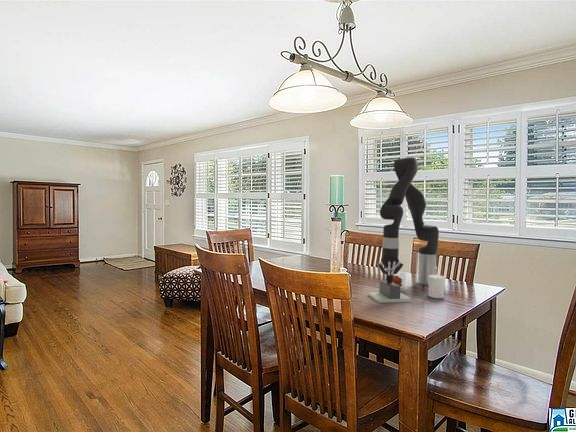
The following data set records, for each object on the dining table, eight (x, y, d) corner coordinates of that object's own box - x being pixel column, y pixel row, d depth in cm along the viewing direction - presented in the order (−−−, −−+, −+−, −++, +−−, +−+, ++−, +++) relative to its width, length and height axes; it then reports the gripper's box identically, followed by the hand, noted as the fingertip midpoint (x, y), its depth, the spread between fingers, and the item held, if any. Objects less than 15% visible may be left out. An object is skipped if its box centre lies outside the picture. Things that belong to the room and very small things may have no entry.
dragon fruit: (398, 290, 195) (390, 298, 186) (385, 279, 198) (377, 287, 189) (407, 279, 191) (400, 287, 182) (394, 268, 194) (386, 276, 185)
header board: (399, 294, 181) (399, 285, 181) (410, 301, 169) (411, 292, 169) (368, 295, 179) (368, 286, 178) (378, 302, 167) (378, 293, 167)
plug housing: (389, 292, 180) (389, 279, 180) (400, 298, 168) (400, 285, 168) (379, 292, 179) (379, 280, 179) (389, 299, 168) (390, 286, 167)
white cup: (444, 295, 181) (445, 275, 181) (445, 299, 174) (446, 278, 173) (427, 293, 184) (428, 274, 183) (427, 297, 176) (428, 277, 176)
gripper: (400, 245, 177) (398, 280, 178) (374, 245, 175) (373, 281, 176) (407, 247, 170) (406, 284, 171) (380, 248, 168) (379, 285, 169)
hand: (389, 282), depth 173 cm, fingers closed
